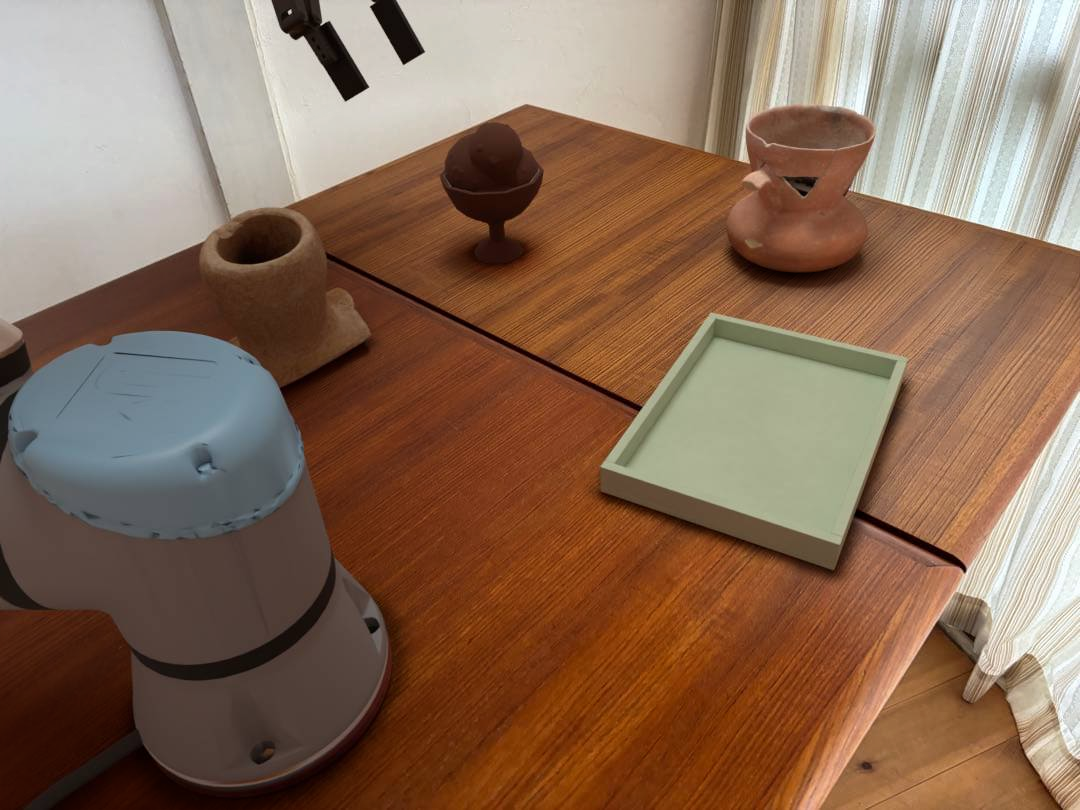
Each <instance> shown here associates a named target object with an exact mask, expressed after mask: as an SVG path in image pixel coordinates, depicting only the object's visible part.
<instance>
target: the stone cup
mask: <svg viewBox="0 0 1080 810" xmlns="http://www.w3.org/2000/svg"><path fill="white" fill-rule="evenodd" d="M327 259H328V258H327V254H326V249H325V247H324V244H323V242H322V240H321V237H320V236H319V233H318V231H317V229H316V228H315V227H314V225H313V224H312V221H310V220H309V219H308V218H307V217H306V216H305V215H303V213H301V212H298V211H296V210H293V209H290V208H284V207H271V206H270V207H269V206H267V207H258V208H254V209H249V210H246V211H243V212H241V213H239V214H236V215H235V216H233V217H232V218H231V219H229V220H228V221H227V222H225V223H224V224H222V225H221V226H219V227H218V228H216V229H214V230H213V231H211V232H210V233H209V234H208V235H207V237H206V239H205V240H204V242H203V244H202V246H201V248H200V251H199V255H198V260H199V261H198V262H199V271H200V275H201V278H202V283H203V284H204V289H205V291H206V294H207V296H208V298H209V299H208V300H209V301H210V303H211V304H212V305H213V308H214V309H215V311H216V312H217V313H218V315H219V316H220V317H221V318H222V320H223V321H224V322H225V323H226V325H227V326H228V327H229V329H231V330H232V331H233V333H234V335H235V336H234V337H232V338H231V339H229V340H228V341H227V342H228V343H230V344H233V345H235V346H237V347H239V348H240V349H242V350H244V351H246V352H247V353H249V354H250V355H252V356H253V357H254V358H256V359H257V361H258V362H259V363H260V365H261V366H262V367H263V368H264V369H265V370H267V371H268V372H270V374H271V375H272V377H273V378H274V380H275V381H276V383H277V385H278V387H279V389H280V388H283V387H287V386H288V385H291V384H292V383H295V382H297V381H299V380H300V379H302V378H304V377H306V376H307V375H309V374H311V373H313V372H315V371H317V370H319V369H321V368H322V367H324V366H325V365H327V364H329V363H331V362H332V361H334V360H336V359H337V358H340V357H341V356H343V355H345V354H347V353H348V352H349V351H351V350H353V349H355V348H356V347H358V346H359V345H361V344H363V343H364V342H366V341H368V340H369V339H370V338H371V337H372V333H371V330H370V328H369V326H368V324H367V323H366V321H365V320H364V319H363V318H362V316H361V315H360V314H359V312H358V311H357V310H356V304H355V302H354V298H353V297H352V296H351V294H350V293H349V292H348V291H347V290H345V288H341V287H335V288H332V289H330V290H328V291H327V274H328V261H327Z"/></svg>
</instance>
